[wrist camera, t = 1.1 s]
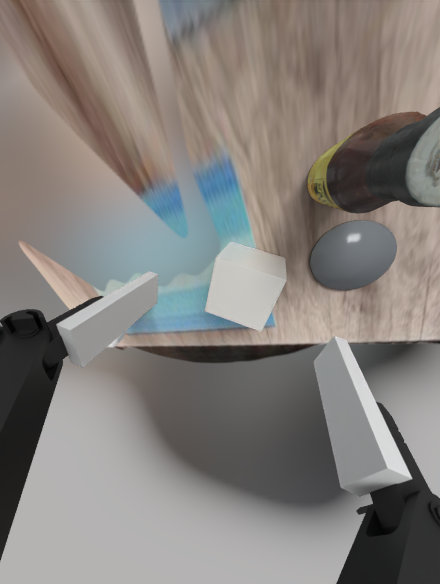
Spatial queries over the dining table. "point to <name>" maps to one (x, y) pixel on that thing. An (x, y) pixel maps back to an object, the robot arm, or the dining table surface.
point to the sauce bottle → (382, 165)
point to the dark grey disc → (353, 254)
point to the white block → (245, 285)
